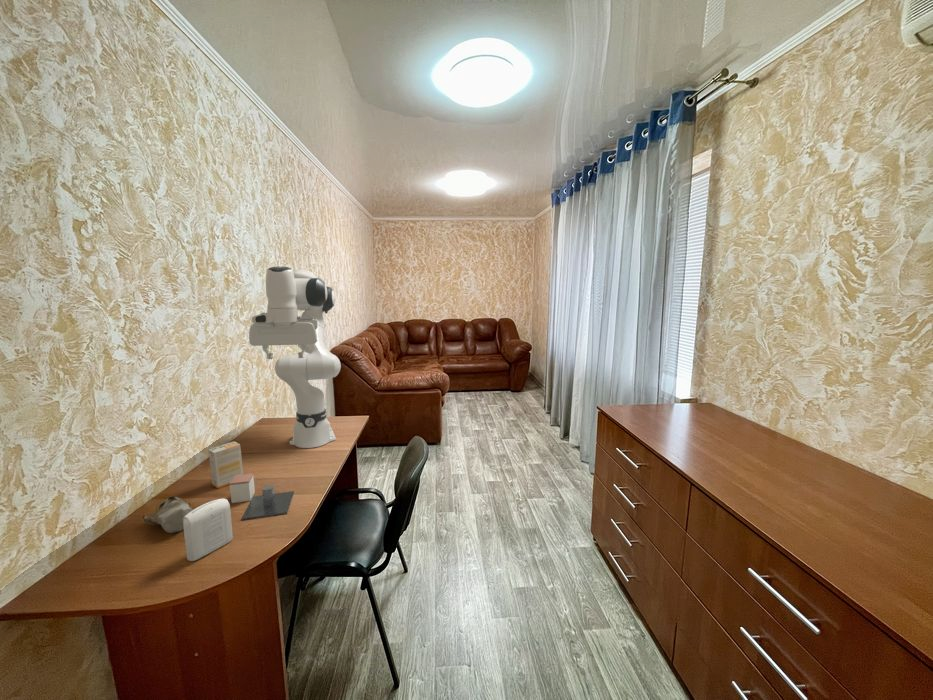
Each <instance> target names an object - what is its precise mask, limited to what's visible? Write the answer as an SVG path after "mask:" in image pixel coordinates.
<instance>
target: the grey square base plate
mask: <svg viewBox="0 0 933 700" xmlns="http://www.w3.org/2000/svg"><path fill="white" fill-rule="evenodd" d="M261 493H262V495H261V494H260V495H253V497H252V499H251V500H250V501H249V503H248V505H247V507H246V510H245V511H244V513H243V514H242V517H241V521H246V520H252V519H254V520H255V519H259V518H267V517H272V516H274V517H275V516H280V515H287V514H288V512H289V510H290V506H291V503H292V500H293V497H294V494H295V491H294V490H291V491H284V492H283V491H282V492H275V486H274V484H269V485H264V486H263V488H262V492H261Z"/></svg>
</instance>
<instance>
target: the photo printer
mask: <svg viewBox="0 0 933 700" xmlns="http://www.w3.org/2000/svg"><path fill="white" fill-rule="evenodd" d="M183 527H184V529H183V533H184V544H185V553H186V554H185V555H186V560H188V561H190V562H195V561H197V560H199V559H201V558H203V557H205V556H206V555H208V554H210V553H213V552H214V551H215V550H218V549H219V548H221V547H223V546H225V545H226V544H228V543H230V542H231V541H232V540H233V538H234V537H233V527H232V514H231V505H230V502H229V501H228V499H226V498H219V499H215V500H214V499H213V500H210V501H208V502H206V503H204V504H201V505H199V506H197V507H195V508H194V509H193V510H192V511H191V512H190V513H188V514H187V515H186V516H184V518H183Z"/></svg>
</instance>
